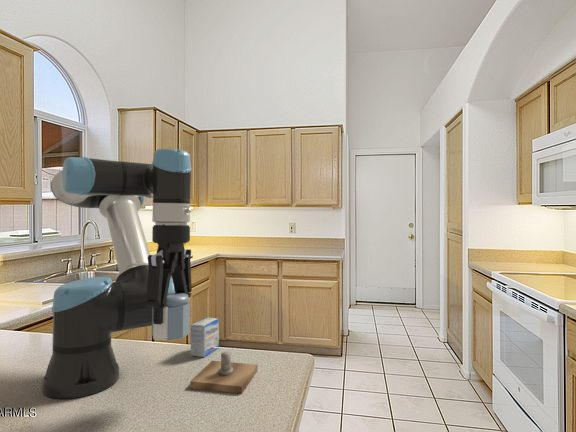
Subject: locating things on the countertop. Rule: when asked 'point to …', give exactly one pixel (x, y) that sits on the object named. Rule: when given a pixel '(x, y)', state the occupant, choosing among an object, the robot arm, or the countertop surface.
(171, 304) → the cap
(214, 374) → the brown wooden square board
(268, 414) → the countertop surface
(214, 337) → the medicine box
